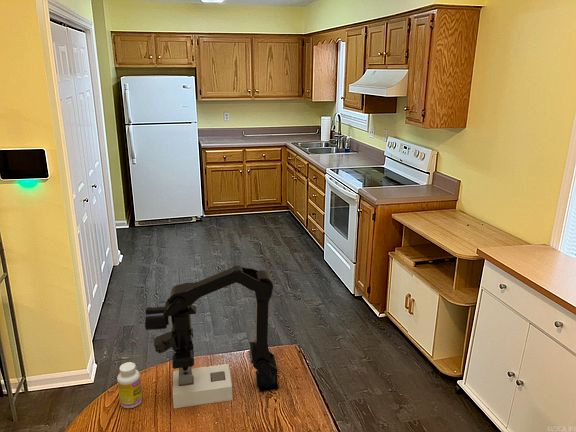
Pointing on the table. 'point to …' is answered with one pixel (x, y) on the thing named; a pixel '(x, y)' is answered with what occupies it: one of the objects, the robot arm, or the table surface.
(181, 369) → the peg
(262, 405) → the table surface
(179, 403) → the bore block
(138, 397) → the supplement bottle
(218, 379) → the peg
